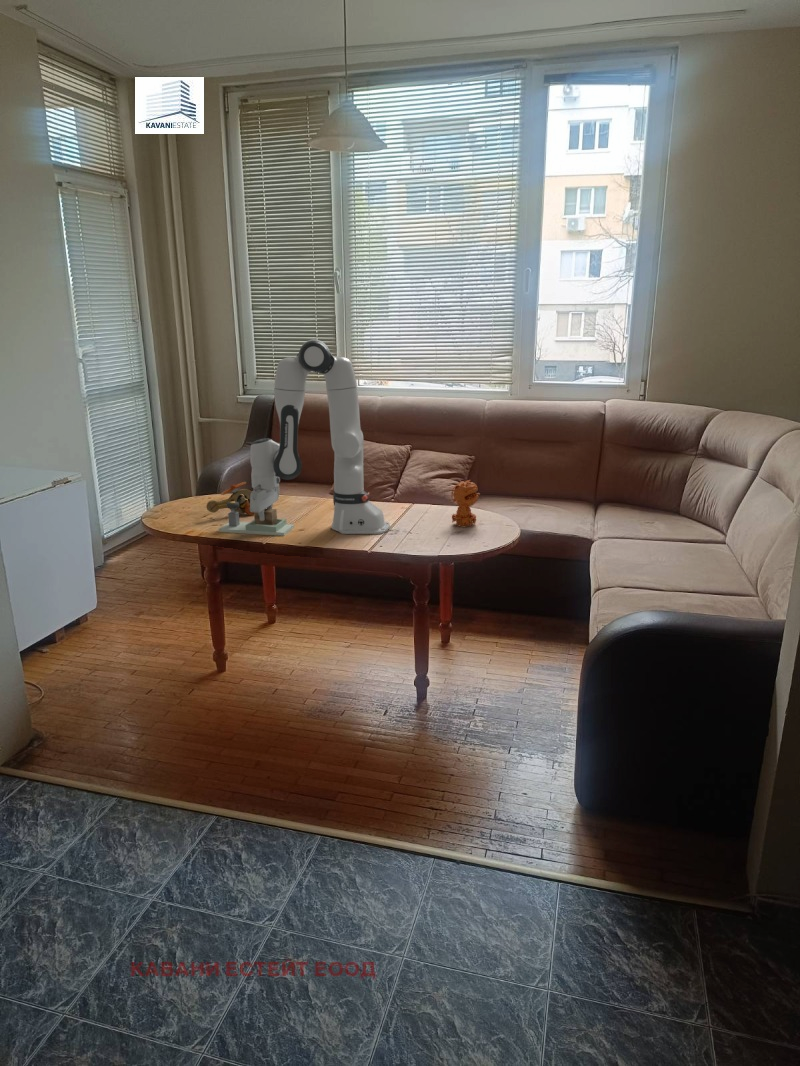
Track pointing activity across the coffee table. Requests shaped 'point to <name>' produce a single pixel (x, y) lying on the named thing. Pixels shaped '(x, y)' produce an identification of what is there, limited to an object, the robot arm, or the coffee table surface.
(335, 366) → the robot arm
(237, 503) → the wheel knob
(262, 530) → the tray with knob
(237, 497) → the toy helicopter
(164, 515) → the coffee table surface
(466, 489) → the toy dinosaur
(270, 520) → the brown rectangular block
